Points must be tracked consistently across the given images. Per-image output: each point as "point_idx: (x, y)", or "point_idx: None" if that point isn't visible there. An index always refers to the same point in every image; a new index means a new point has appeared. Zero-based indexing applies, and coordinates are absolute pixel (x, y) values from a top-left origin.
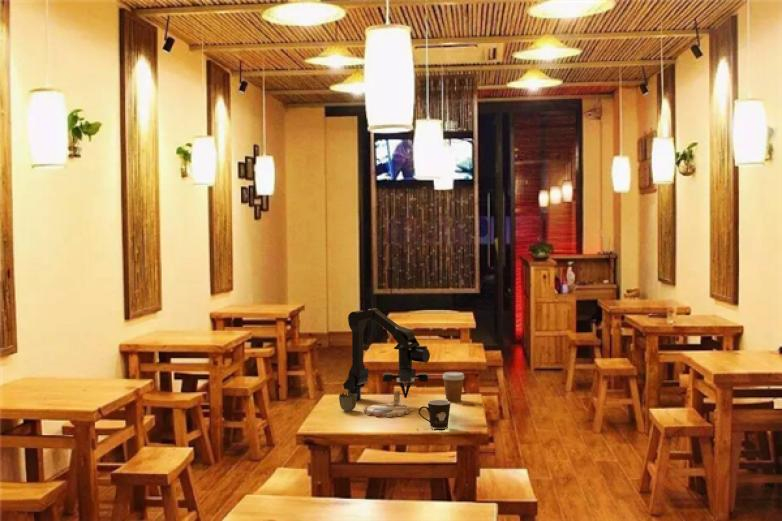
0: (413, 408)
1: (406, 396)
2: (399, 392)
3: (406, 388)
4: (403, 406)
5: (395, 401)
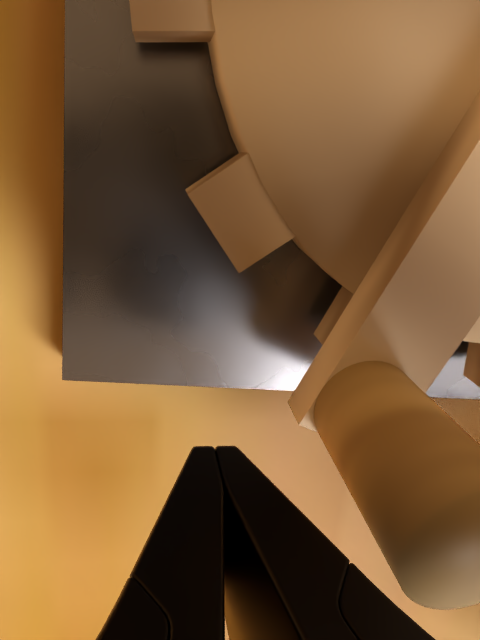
0: (79, 406)
1: (194, 460)
2: (398, 520)
3: (219, 634)
4: (263, 129)
5: (396, 366)
